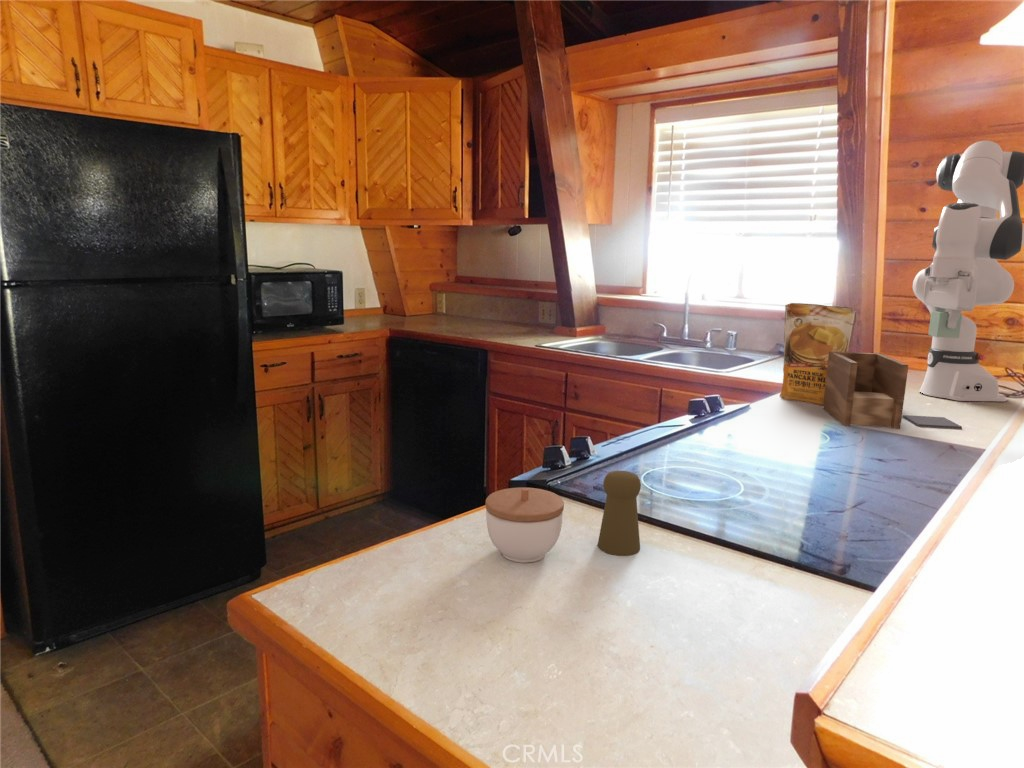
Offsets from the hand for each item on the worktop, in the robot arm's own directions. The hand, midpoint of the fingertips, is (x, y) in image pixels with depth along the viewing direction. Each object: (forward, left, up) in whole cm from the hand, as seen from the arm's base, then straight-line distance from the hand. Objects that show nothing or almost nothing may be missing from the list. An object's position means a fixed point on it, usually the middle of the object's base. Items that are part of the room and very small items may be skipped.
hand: (944, 326), depth 169 cm
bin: (+17, -1, -25) cm, 30 cm away
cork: (+77, +93, -25) cm, 123 cm away
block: (0, 0, -2) cm, 2 cm away
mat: (0, 0, -25) cm, 25 cm away
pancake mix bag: (+25, -20, -25) cm, 41 cm away
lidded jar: (+90, +98, -25) cm, 135 cm away
